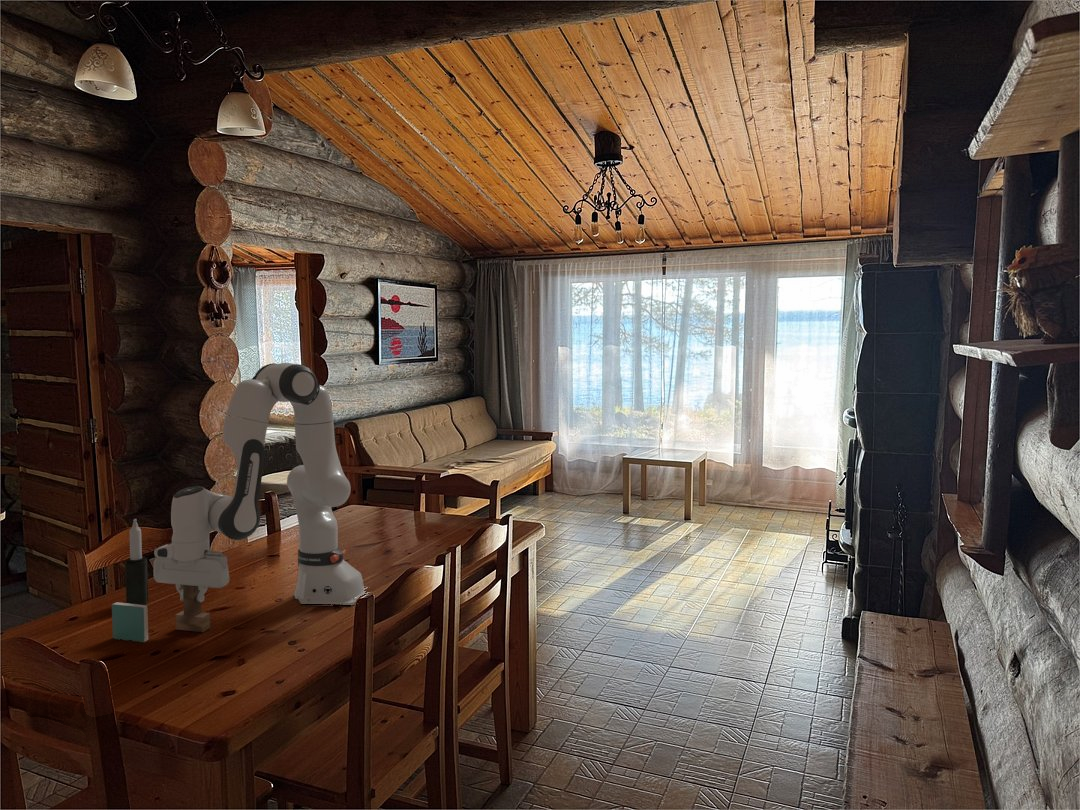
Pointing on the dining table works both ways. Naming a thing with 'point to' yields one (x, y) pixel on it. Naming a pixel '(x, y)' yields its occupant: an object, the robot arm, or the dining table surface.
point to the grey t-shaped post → (192, 612)
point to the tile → (130, 622)
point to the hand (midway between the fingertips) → (192, 600)
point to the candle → (136, 570)
